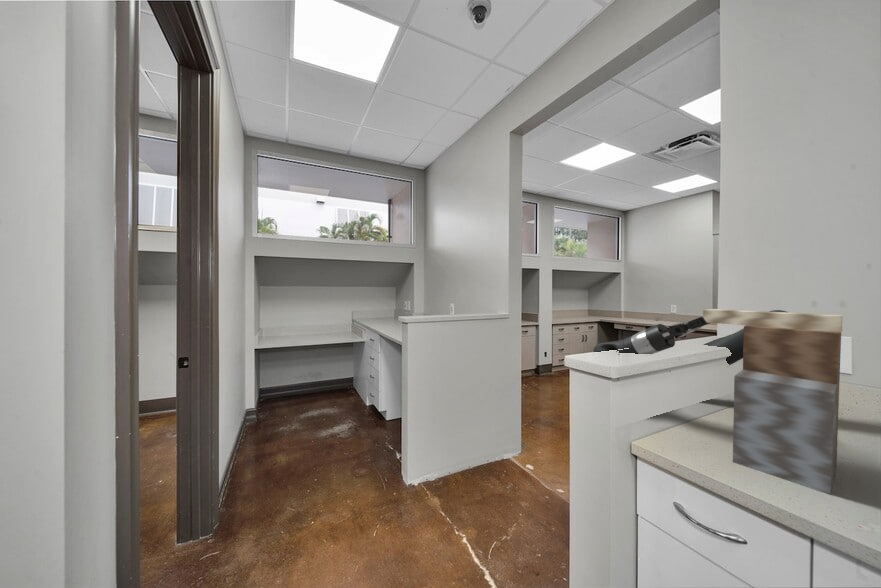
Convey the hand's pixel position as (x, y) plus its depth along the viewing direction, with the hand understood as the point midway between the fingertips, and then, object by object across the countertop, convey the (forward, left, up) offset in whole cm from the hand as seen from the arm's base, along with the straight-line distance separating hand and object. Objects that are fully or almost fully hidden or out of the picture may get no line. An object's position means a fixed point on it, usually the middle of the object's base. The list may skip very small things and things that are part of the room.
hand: (709, 318), depth 89 cm
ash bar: (+5, +10, -1) cm, 11 cm away
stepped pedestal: (+11, +11, -33) cm, 36 cm away
